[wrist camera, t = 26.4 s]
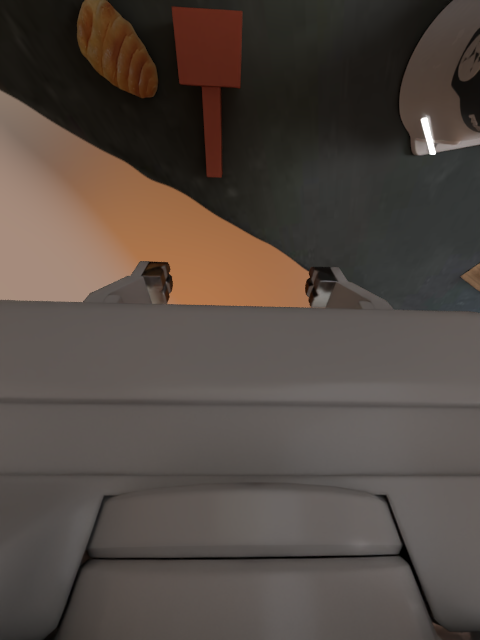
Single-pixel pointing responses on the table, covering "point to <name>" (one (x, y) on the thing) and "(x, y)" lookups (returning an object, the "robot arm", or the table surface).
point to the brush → (209, 66)
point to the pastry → (115, 49)
